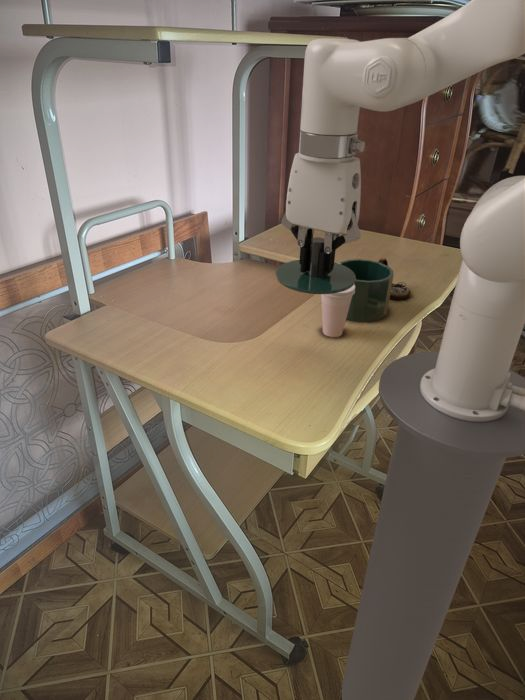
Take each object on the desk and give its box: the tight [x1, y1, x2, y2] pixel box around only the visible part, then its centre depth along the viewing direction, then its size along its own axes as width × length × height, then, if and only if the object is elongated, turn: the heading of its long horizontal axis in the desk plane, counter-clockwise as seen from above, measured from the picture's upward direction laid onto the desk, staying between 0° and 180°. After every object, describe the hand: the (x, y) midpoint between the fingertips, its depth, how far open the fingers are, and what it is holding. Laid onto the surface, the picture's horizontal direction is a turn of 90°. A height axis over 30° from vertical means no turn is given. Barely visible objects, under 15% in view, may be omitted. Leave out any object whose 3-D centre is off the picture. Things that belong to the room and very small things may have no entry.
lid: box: [275, 236, 356, 295], centre depth 76 cm, size 12×12×7 cm
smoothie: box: [320, 262, 355, 338], centre depth 90 cm, size 6×6×14 cm
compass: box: [377, 258, 412, 300], centre depth 108 cm, size 8×8×7 cm
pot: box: [339, 258, 394, 323], centre depth 100 cm, size 11×11×8 cm
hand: (315, 271), depth 77 cm, fingers closed on lid, 2 cm apart
